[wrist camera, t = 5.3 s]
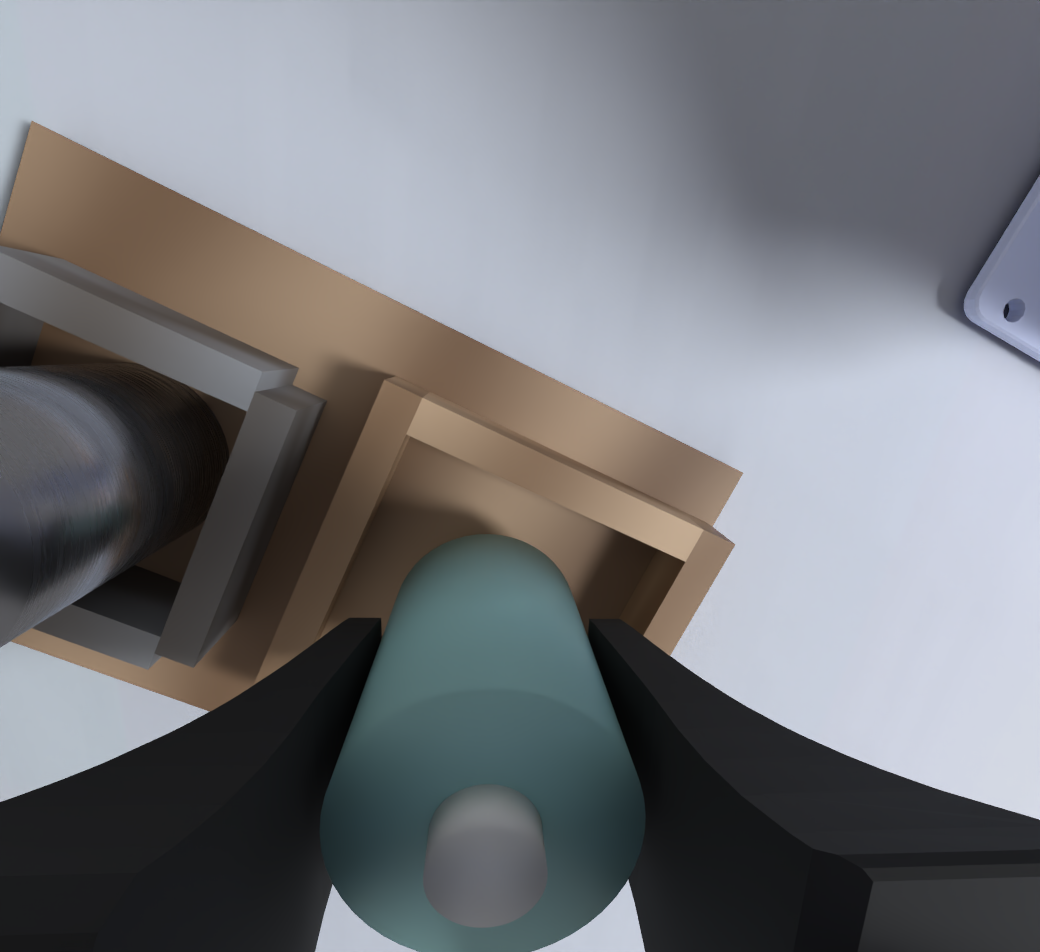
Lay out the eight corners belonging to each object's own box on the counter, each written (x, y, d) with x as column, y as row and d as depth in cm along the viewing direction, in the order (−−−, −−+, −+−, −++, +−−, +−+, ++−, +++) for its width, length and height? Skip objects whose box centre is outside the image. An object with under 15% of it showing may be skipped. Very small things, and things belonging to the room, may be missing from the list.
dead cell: (255, 412, 12) (32, 473, 6) (195, 567, 13) (-57, 757, 7) (69, 329, 11) (-381, 308, 5) (17, 497, 12) (-433, 640, 6)
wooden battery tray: (732, 467, 14) (788, 494, 11) (537, 810, 16) (547, 899, 13) (55, 132, 11) (-71, 69, 9) (-76, 589, 13) (-212, 647, 11)
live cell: (571, 527, 12) (659, 705, 6) (578, 692, 13) (661, 992, 7) (383, 541, 12) (276, 741, 6) (404, 708, 12) (330, 1031, 6)
